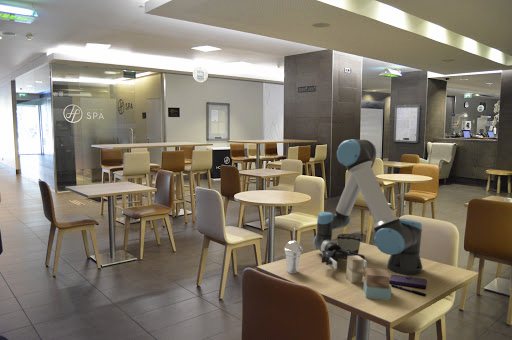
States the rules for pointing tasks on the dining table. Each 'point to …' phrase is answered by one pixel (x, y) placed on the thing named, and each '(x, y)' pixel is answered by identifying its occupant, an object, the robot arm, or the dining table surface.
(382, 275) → the walnut block
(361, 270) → the oak pillar
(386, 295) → the teal block
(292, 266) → the cup with straw
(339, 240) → the food container
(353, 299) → the dining table surface
